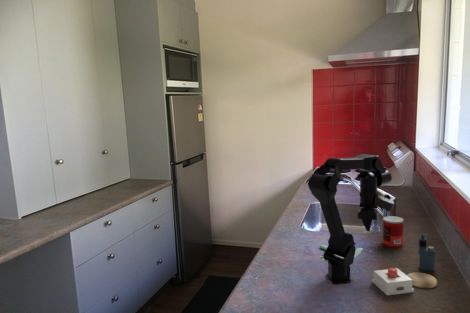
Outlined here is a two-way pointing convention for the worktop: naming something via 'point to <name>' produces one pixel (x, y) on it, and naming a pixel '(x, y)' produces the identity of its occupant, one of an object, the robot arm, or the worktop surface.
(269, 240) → the worktop surface
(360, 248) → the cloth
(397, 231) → the canned food
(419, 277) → the coaster
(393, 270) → the button
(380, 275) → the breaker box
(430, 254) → the vaping device
